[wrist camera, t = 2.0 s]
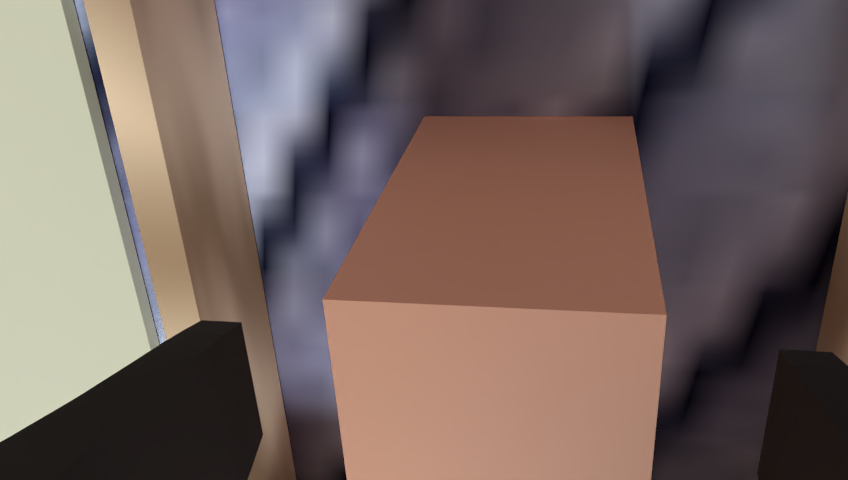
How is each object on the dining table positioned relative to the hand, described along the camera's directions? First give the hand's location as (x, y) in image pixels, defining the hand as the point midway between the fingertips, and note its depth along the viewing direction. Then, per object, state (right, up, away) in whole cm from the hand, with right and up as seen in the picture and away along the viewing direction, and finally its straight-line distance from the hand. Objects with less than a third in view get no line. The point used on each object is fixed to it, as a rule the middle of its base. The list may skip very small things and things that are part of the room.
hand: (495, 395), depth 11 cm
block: (+1, +3, +5) cm, 6 cm away
